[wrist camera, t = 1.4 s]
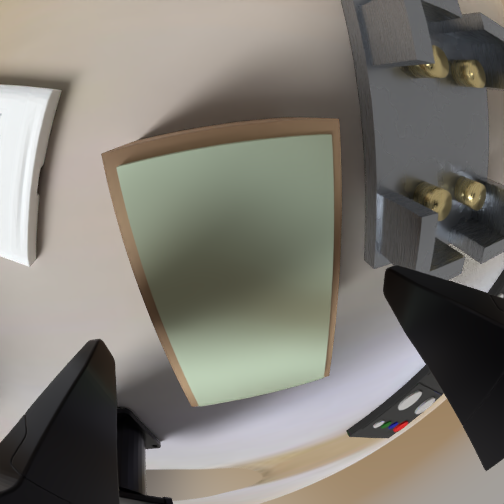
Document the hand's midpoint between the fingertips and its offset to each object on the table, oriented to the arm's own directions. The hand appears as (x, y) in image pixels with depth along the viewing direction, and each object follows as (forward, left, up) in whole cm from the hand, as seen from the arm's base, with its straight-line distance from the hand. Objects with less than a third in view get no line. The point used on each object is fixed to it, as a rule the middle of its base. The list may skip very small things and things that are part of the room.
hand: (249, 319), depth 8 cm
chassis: (+4, -12, -6) cm, 14 cm away
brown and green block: (0, 0, -6) cm, 6 cm away
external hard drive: (+8, +13, -6) cm, 16 cm away
